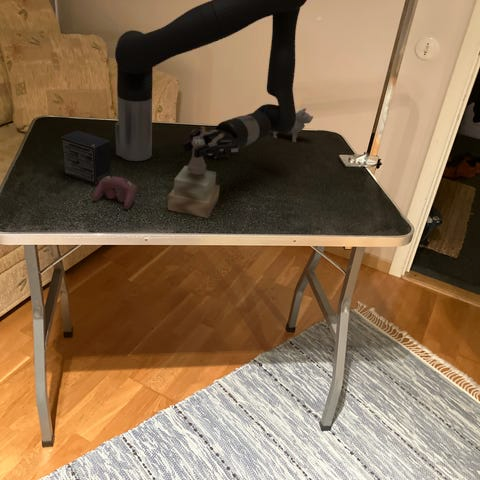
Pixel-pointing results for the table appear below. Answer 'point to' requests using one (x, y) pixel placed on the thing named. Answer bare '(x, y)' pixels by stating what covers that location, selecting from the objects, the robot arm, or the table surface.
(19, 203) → the table surface
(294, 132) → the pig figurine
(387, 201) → the table surface
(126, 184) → the video game controller
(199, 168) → the rook chess piece
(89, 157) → the small box
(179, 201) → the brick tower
